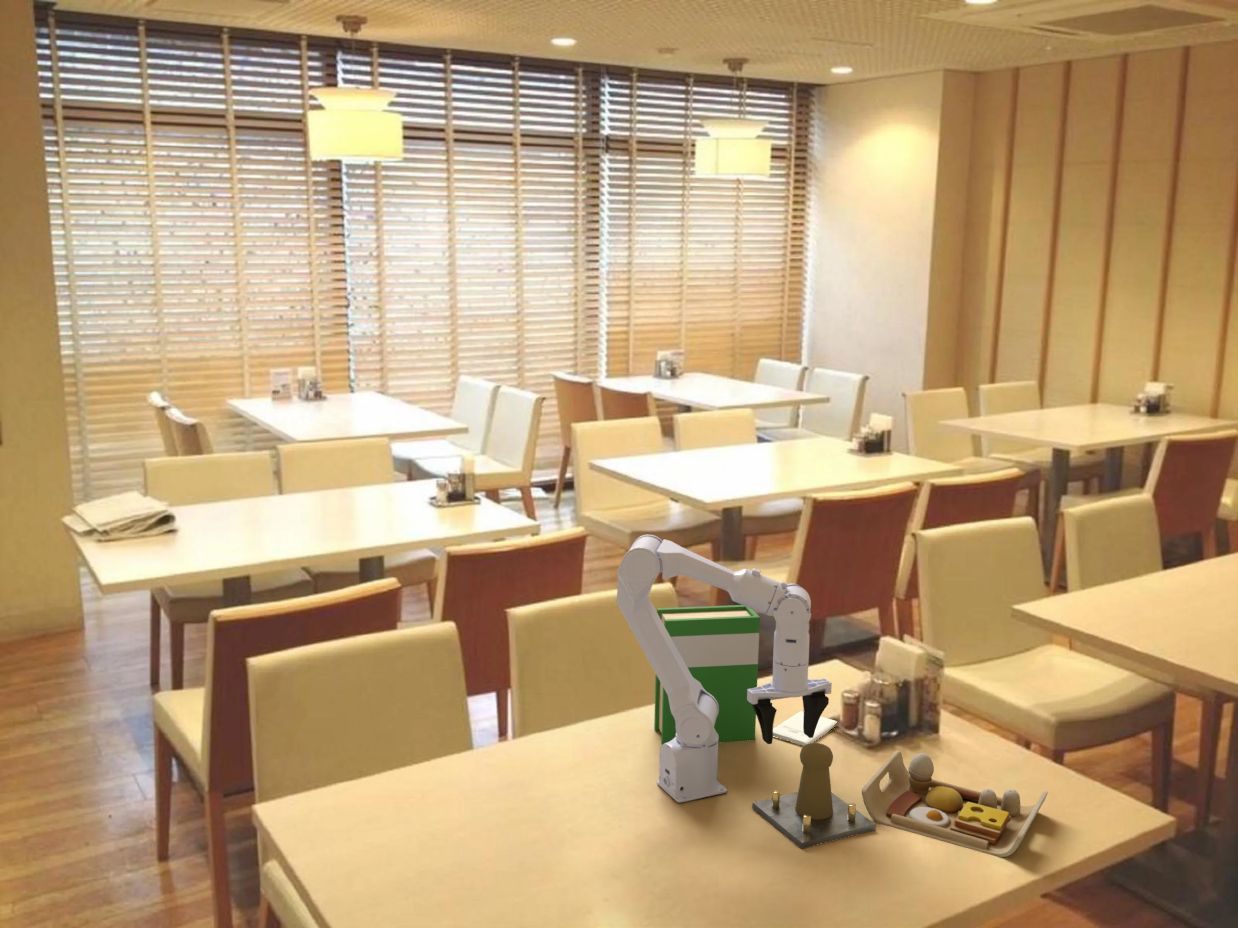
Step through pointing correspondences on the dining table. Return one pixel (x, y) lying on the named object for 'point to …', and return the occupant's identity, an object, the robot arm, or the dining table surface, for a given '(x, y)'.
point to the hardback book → (715, 665)
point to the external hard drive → (801, 729)
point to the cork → (815, 782)
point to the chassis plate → (812, 820)
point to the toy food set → (947, 808)
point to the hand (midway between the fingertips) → (787, 738)
